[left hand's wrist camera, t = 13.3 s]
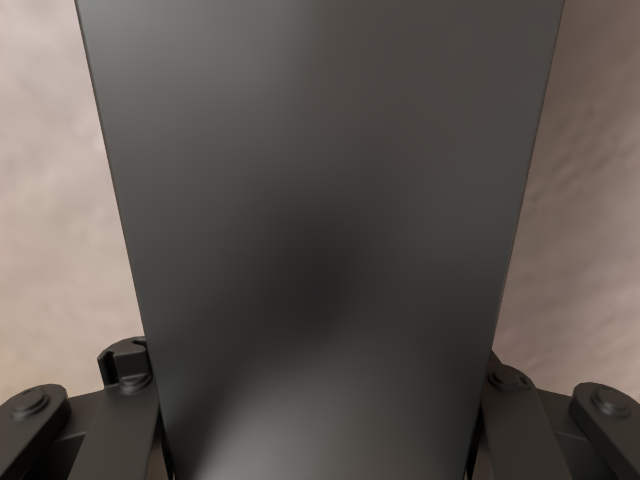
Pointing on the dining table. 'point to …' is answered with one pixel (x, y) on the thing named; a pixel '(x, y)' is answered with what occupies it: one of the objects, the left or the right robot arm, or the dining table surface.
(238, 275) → the bar
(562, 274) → the dining table surface
